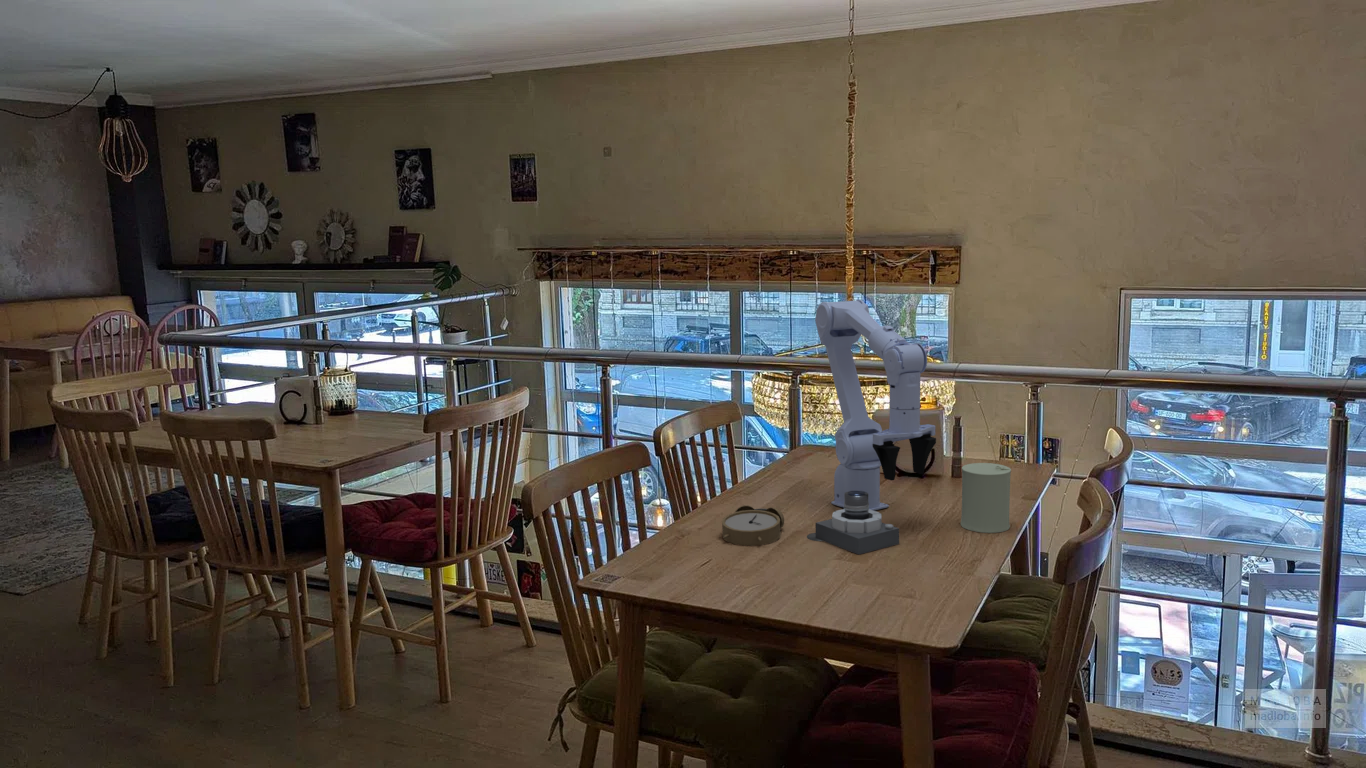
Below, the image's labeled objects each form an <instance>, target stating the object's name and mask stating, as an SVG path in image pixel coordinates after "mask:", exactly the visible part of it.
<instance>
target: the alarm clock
mask: <svg viewBox="0 0 1366 768" xmlns="http://www.w3.org/2000/svg"><path fill="white" fill-rule="evenodd" d="M784 524H785V515H784V514H783V513H782V511H781V510H780V509H778V508H777V507H773V506H772V507H769V508H754V507H753V506H750V505H748V504H747V505H741V506H739V507H737V508H736V510H735V511H734V512H731V513H729V514H727V515H726V516H724V517H723V518H722V520H721V525H722V526H721V527H722V529H721V530H722V538H723V540H724V541H726V542H727V543H730V544H733V545H738V544H739V546H751V547H753V546H764V545H770V544H773V543H775V542H777V541H778V540H779V539H780V538H781V535H782V533H781V529H782V528H784Z"/></svg>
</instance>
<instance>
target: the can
mask: <svg viewBox="0 0 1366 768" xmlns="http://www.w3.org/2000/svg"><path fill="white" fill-rule="evenodd" d="M1011 474H1012V469H1011V467H1009V466H1006V465H1004V464H999V463H990V462H974V463H968V464H964V465H963V466H962V467H961V477H962V479H961V516H960V517H961V519H960V526H961V528H963V529H965V530H968V531H971V532H977V533H982V534H985V533H986V534H995V533H997V534H998V533H1003V532H1006V531H1009V529H1010V528H1011V525H1010V504H1011V503H1010V502H1011V501H1010V500H1011V499H1010V495H1011V493H1010V492H1011Z"/></svg>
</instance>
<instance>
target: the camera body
mask: <svg viewBox="0 0 1366 768" xmlns="http://www.w3.org/2000/svg"><path fill="white" fill-rule="evenodd" d="M831 515H832V516H831V518H830V519H826V520H822V521H817V522H815V533H816V538H817V539H820V540H822V541H821V542H825V543H828V544H830V545H832V546H835V547H837V548H840V549H843V550H845V551H848V552H850V553H851V552H852V553H854V554H856V555H864V554H866V553H871V552H874V551H878V550H883V549H884V548H885V549H886V548H889V547H893V546H896V545H899V544H900V528H899V527H896V526H894V524H891V523H884V522H882V521H883V520H882V515H883V514H882V513H881V512H879V511H877V510H874V511H873V510H870V509H869V519H865V520H849V519H846V518H845V510H844V508H843V509H838V510H835V511H833V512H832V514H831Z"/></svg>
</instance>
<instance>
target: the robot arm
mask: <svg viewBox="0 0 1366 768" xmlns="http://www.w3.org/2000/svg"><path fill="white" fill-rule="evenodd" d="M814 319H815V320H814V322H815V326H816V330H817V333H818V337H819V341H820V344H822V345H823V346H825V350H826V355H827V358H828V362H829V367H830V370H831V375H832V378H833V379H832V380H833V382H834V387H835V391H836V395H837V399H838V403H839V407H840V411H841V414H842V415H841V416H842V419H843V422H842V424H841V425H840V427H838V429H837V430H836V432H835V434H834V439H835V453H836V458H837V460H838V461H839V463H840V464H838V465H837V467H836V469H835V471H834V474H833V475H834V476H833V477H834V479H833V481H834V485H833V486H834V487H833V488H834V491H833V492H834V495H833V496H834V497H833V498H834V500H832V501H831V504H832V505H834V506H837V507H840V508H843V509H844V502H845V499H844V493H845V492H848V491H864V492H867V493H868V502H869V509H870V510H873V511H878V510H882V509H886V508H889V507H890V505H889V504H887V503H884V502H880V499H881V498H880V497H881V493H880V492H881V491H880V490H881V488H880V487H881V486H880V485H881V484H880V483H881V480H880V479H881V476H880V475H881V470H880V469H881V468H882V472H883V478H884V479H885V480H888V481H895V478H896V474H897V473H896V470H897V468H896V467H897V459H898V456H899V452H900V449H901V447H900V446H898V445H895V444H894V442H899V441H905V440H909V444H910V448H911V449H910V450H911V456H912V457H911V458H912V471H913V473H915V474H917V475H918V474H919V475H924V472H925V469H926V466H927V462H928V458H929V456H930V454H931V452H932V449H933V448H934V446H935V445H936V444H937V438H936V437H933V436H936V425H934V424H929V423H927V424H921V374H922V373H924V372H925V371H926V368H927V365H928V356H927V352H926V350H925V347H924V346H923V345H922V344H921V343H919V342H914V343H912V342H908V340H906V339H905V338H904V337H902V336H901V335H900V334H899V333H897V332H896V331H895V329H894V327H892V325H880V323H878V322H877V321H876V320H875V319H874V317H872V315H871V314H870V309H869V305H868V304H867V303H865V301H864V300H862V299H855V300H846V301H845V300H844V301H843V300H841V301H828V302H827V301H821V302H820V303H819V305H818V307H817V309H816V313H815V318H814ZM861 336H862V337H864V338H866V339H867V341H868V342H867V345H868V348H869V350H871V351H872V352H873V353H874V354H876V356H877V357H879V358H880V359H881V360H882V361H883V367H884V370H885V373H886V381H887V384H889V423H888V424H889V428H886V429H884V430H883V429H882V426H881V424H880V423H878V422H876V421H875V420H874V419H872V418H870V417H869V415H868V411H867V407H866V403H865V400H864V394H863V392H862V390H863V389H862V388H861V387H862V386H861V383H860V380H859V375H858V372H857V371H858V370H857V367H856V363H855V359H854V356H853V353H852V352H853V350H852V346H853V345H854V344H855V343H857V342H858V341H859V340H860V338H861Z"/></svg>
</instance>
